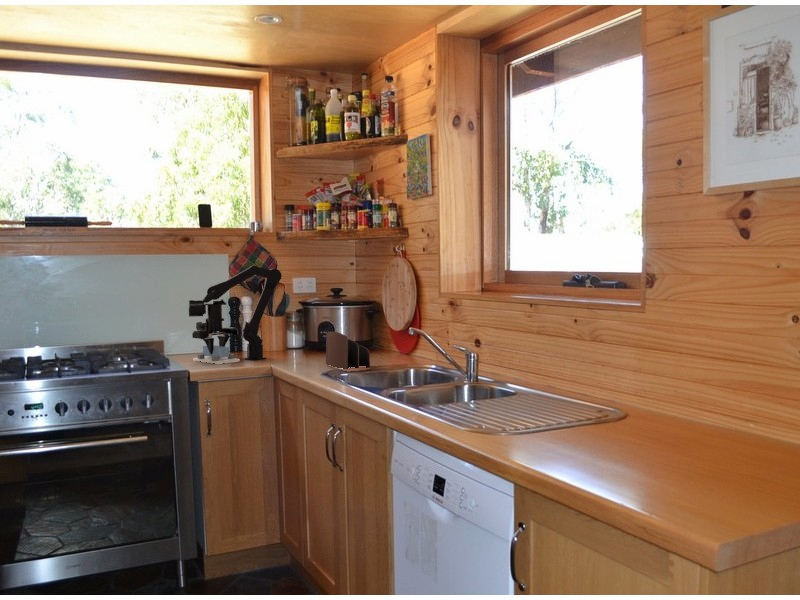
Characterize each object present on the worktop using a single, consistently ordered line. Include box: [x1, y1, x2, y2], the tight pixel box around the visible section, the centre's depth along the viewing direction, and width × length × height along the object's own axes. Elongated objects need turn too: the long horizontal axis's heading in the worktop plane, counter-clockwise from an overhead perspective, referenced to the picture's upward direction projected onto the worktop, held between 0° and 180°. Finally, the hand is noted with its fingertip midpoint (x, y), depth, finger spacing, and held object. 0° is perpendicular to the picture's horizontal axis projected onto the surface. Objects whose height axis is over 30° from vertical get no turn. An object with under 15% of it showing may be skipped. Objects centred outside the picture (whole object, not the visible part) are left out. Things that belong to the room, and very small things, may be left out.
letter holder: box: [325, 331, 371, 369], centre depth 274 cm, size 10×20×14 cm, turn 28°
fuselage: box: [202, 344, 230, 358], centre depth 297 cm, size 14×4×4 cm, turn 50°
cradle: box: [192, 353, 241, 365], centre depth 296 cm, size 18×10×3 cm, turn 49°
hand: (216, 353), depth 296 cm, fingers closed on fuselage, 4 cm apart
